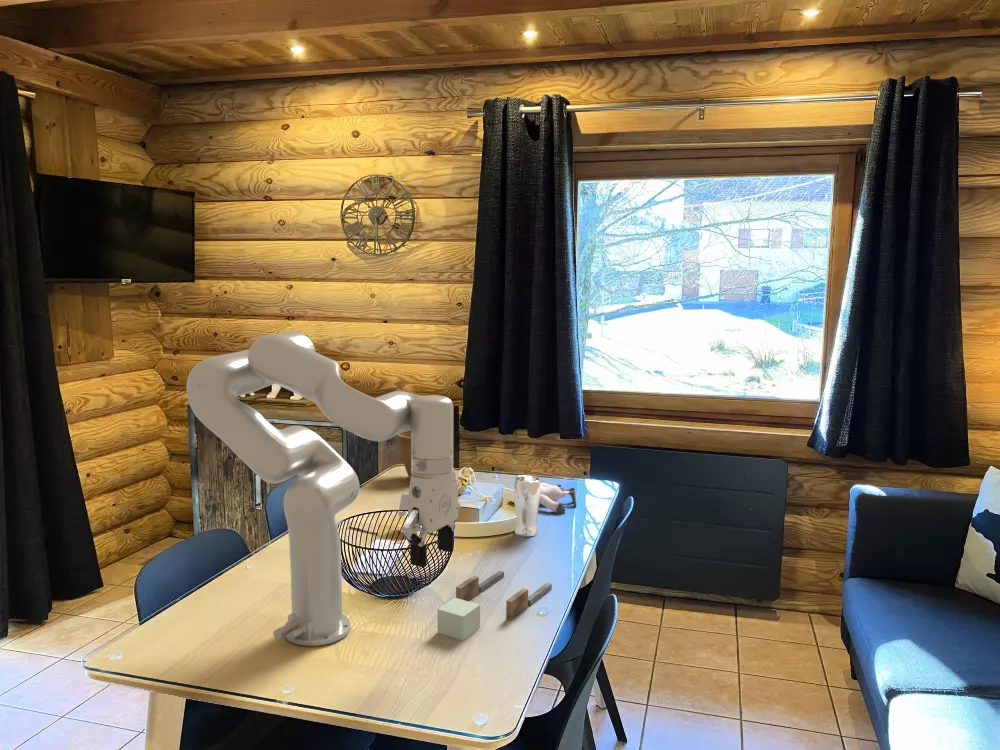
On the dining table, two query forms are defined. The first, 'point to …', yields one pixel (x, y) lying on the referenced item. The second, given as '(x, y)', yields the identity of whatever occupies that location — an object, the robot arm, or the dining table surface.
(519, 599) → the walnut channel
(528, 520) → the beer glass
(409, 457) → the plant pot
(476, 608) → the sage block
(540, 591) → the rails
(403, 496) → the light grey tapered block
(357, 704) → the dining table surface
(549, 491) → the yeti figurine
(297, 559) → the robot arm
